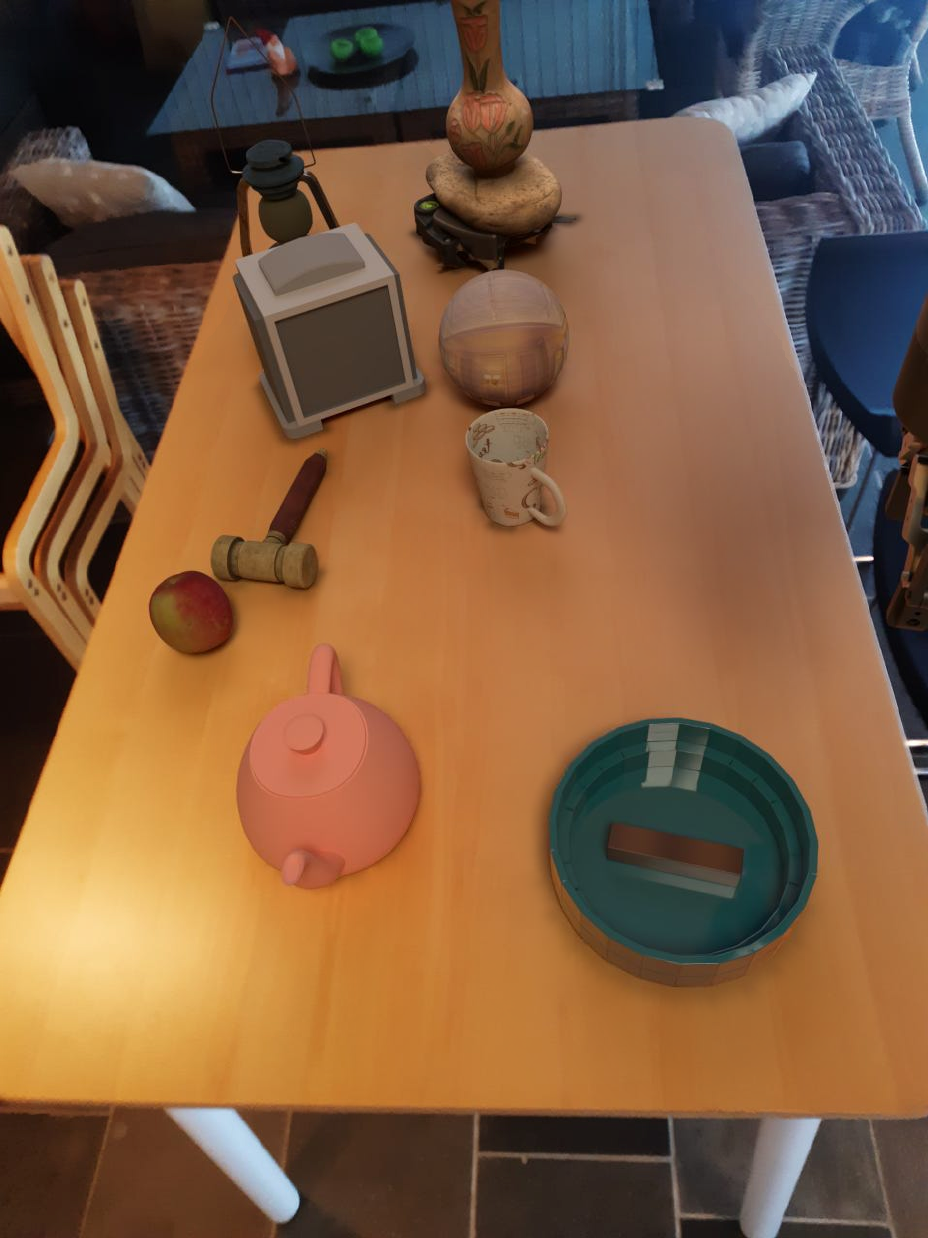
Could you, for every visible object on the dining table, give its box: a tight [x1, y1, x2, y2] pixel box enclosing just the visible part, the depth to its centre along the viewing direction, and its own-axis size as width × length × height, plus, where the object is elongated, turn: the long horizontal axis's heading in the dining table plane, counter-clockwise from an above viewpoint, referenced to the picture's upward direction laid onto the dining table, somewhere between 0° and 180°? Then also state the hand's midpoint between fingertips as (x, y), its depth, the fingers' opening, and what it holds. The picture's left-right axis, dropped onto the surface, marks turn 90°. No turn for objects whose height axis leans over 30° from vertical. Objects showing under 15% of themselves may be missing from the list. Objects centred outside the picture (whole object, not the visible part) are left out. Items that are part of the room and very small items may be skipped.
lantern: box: [209, 16, 341, 258], centre depth 111 cm, size 14×12×35 cm
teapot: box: [235, 643, 421, 890], centre depth 70 cm, size 22×15×12 cm
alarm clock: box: [232, 221, 427, 440], centre depth 104 cm, size 18×13×18 cm
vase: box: [413, 0, 577, 272], centre depth 116 cm, size 24×22×35 cm
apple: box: [148, 570, 234, 654], centre depth 85 cm, size 8×8×8 cm
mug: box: [464, 408, 568, 527], centre depth 90 cm, size 8×13×10 cm, turn 43°
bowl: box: [548, 717, 819, 988], centre depth 67 cm, size 19×19×6 cm
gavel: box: [210, 447, 328, 589], centre depth 96 cm, size 21×5×10 cm
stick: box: [606, 822, 744, 887], centre depth 68 cm, size 10×2×2 cm, turn 75°
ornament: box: [438, 269, 570, 407], centre depth 101 cm, size 15×15×15 cm
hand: (903, 567), depth 52 cm, fingers open, 8 cm apart
